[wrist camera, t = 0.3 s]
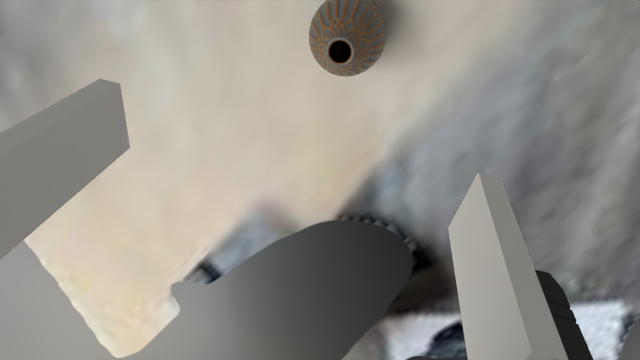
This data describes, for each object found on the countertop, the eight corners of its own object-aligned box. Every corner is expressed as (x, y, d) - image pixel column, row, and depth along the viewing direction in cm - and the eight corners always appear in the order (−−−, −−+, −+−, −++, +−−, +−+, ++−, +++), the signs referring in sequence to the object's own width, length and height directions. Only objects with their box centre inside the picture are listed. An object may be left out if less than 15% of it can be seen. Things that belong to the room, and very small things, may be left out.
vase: (391, 54, 38) (389, 86, 31) (325, 67, 40) (309, 99, 32) (381, -21, 34) (376, -5, 27) (309, -4, 36) (287, 16, 29)
